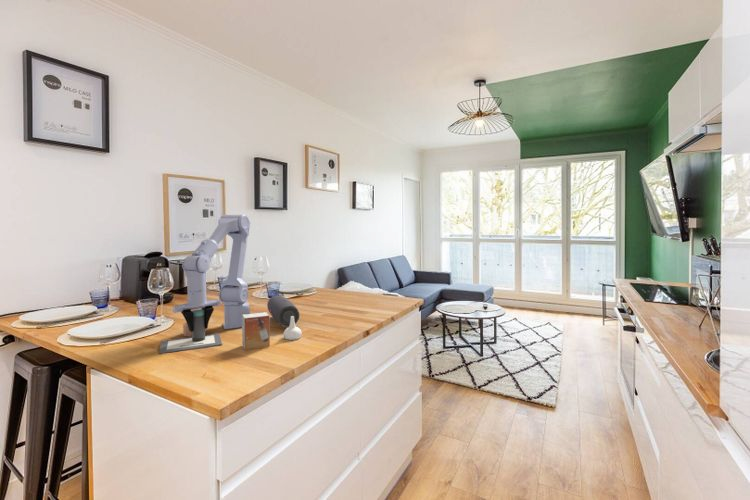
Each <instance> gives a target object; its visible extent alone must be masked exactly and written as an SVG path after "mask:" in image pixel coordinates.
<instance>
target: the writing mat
mask: <svg viewBox="0 0 750 500" xmlns="http://www.w3.org/2000/svg"><path fill="white" fill-rule="evenodd" d="M218 346H223V344H222V338H221V334H220V332H219V333H211V334H205V339H204V340H202V341H192V337H187V336H185V337H181V338H180V337H179V338H174V339H172V338H171V339H163V340H161V343H160V346H159V349H158V350H159V351H158V355H163V354H170V353H177V352H183V351H191V350H197V349H203V348H211V347H218Z"/></svg>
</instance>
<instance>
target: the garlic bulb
mask: <svg viewBox="0 0 750 500" xmlns="http://www.w3.org/2000/svg"><path fill="white" fill-rule="evenodd" d="M302 333H303V332H302V329H300V328H299V327H298V326H296V324H295V322H294V316H291V319H290V325H289V327H286V329H284V331H283V338H284V339H285V340H287V341H294V340H295V341H296V340H299V339H300V338H301V337H302Z"/></svg>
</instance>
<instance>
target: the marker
mask: <svg viewBox="0 0 750 500" xmlns="http://www.w3.org/2000/svg"><path fill="white" fill-rule="evenodd" d="M191 311H192V312H193V313H194V314H193V332H192V341H202V340H204V339H205V335H206V333H205V318H204V310H203V309H202V308H199V309H193V310H191Z"/></svg>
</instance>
